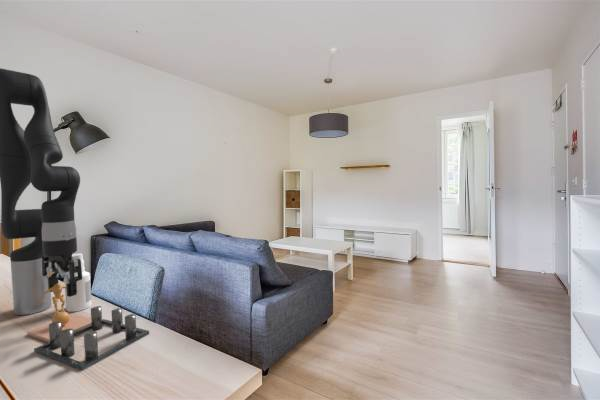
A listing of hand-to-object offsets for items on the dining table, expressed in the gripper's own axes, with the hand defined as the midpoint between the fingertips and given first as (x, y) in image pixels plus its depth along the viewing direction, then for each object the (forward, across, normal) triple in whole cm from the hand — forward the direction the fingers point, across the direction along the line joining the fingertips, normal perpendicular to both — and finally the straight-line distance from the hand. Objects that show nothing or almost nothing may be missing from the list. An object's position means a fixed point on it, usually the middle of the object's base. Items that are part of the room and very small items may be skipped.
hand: (62, 293), depth 83 cm
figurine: (+10, -1, 0) cm, 10 cm away
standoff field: (+10, +16, -2) cm, 19 cm away
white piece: (+11, -11, +10) cm, 18 cm away
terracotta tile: (+10, 0, 0) cm, 10 cm away
